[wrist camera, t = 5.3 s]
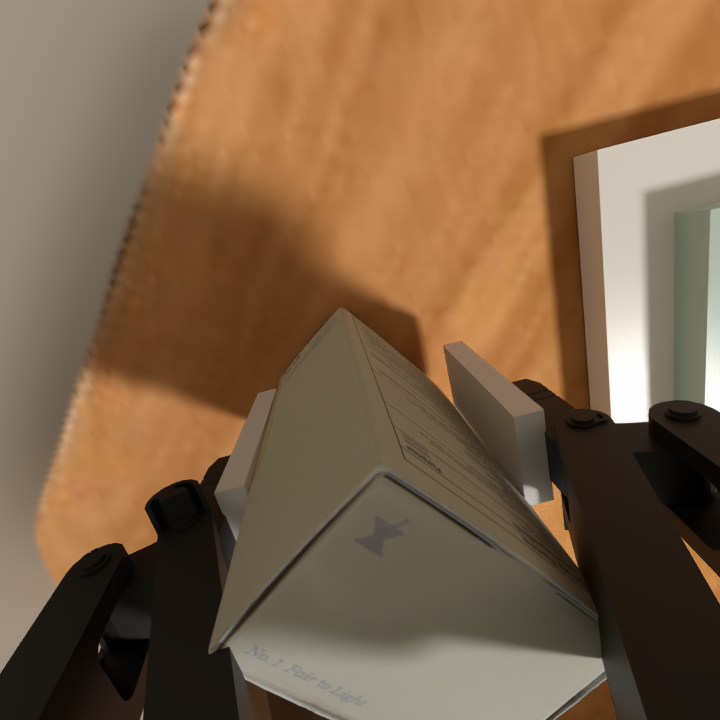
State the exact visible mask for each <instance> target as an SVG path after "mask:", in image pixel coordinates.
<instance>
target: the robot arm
mask: <svg viewBox="0 0 720 720" xmlns="http://www.w3.org/2000/svg"><path fill="white" fill-rule="evenodd" d="M443 348H444V353H445V359H446V364H447V369H448V375H449V380H450V385H451V391H452V396H453V401H454V406H455V408H456V409H457V410H458V412H459V413H460V415H461V416H462V417H463V419H464V420H465V421H466V423H467V424H468V425H469V427H470V428H471V429H472V430H473V432H474V433H475V434H476V436H477V437H478V438H479V440H480V441H481V442H482V443H483V445H484V446H485V447H486V449H487V450H488V451H489V453H490V454H491V455H492V456H493V458H494V459H495V460H496V462H497V463H498V464H499V466H500V467H501V468H502V469H503V471H504V472H505V473H506V475H507V476H508V477H509V479H510V480H511V481H512V483H513V484H514V485H515V486H516V488H517V489H518V490H519V492H520V493H521V494H522V495H523V497H524V498H525V499H526V501H527V502H528V503H529V504H530V505H534V504H538V503H542V502H546V501H550V500H554V498H553V489H552V482H553V483H554V484H555V485H556V487H557V488H558V489H559V490H560V491H561V497H562V507H563V516H564V526H565V530H569V534H570V537H571V541H572V545H573V549H574V553H575V557H576V561H577V564H578V568H579V570H580V572H581V574H582V576H583V579H584V581H585V583H586V586H587V588H588V590H589V593H590V595H591V598H592V600H593V602H594V605H595V607H596V610H597V613H598V624H599V632H600V642H601V653H602V661H603V665H604V669H605V673H606V677H607V680H608V684H609V688H610V692H611V696H612V700H613V704H614V708H615V711H616V715H617V719H618V720H720V604H719V602H718V601H717V599H716V597H715V595H714V594H713V592H712V590H711V588H710V587H709V585H708V583H707V582H706V580H705V578H704V576H703V575H702V573H701V571H700V569H699V568H698V566H697V564H696V563H695V561H694V559H693V557H692V556H691V554H690V552H689V550H688V549H687V547H686V545H685V543H684V542H683V540H682V538H683V539H684V541H685V542H686V543H687V544H688V545H689V546H690V547H691V548H692V549H693V550H694V551H695V552H696V553H697V554H698V555H699V556H700V557H701V558H702V559H703V560H704V561H705V562H706V563H707V564H708V566H709V567H710V568H711V569H712V570H713V571H714V572H715V573H716V574H717V575H718V576H719V577H720V412H719V411H717V410H715V409H714V408H712V407H709V406H707V405H704V404H701V403H696V402H691V401H688V400H682V401H681V400H673V401H665V402H661V403H658V404H654V405H653V406H652V407H651V408H649V413H648V417H649V422H634V423H614V421H613V419H612V418H611V417H610V416H609V415H608V414H605V413H603V412H600V411H597V410H592V409H575V408H574V407H572V406H571V405H570V404H568V403H567V402H565V401H564V400H563V399H561V398H560V397H559V396H556V394H554V393H553V392H552V391H550V390H548V389H547V388H546V387H545V386H543V385H542V384H541V383H539V382H535V381H532V380H528V379H523V380H519V381H515V382H510V381H509V380H508V379H507V378H505V377H504V376H503V375H502V374H501V373H499V372H498V371H497V370H496V369H495V368H493V367H492V366H491V365H490V364H489V363H487V362H486V361H485V360H484V359H483V358H481V357H480V356H479V355H478V354H477V353H475V352H474V351H473V350H472V349H471V348H469V347H468V346H467V345H466V344H465V343H463V342H462V341H459V342H455V343H451V344H447V345H443ZM276 392H277V388H275V389H271V390H268V391H264V392H260V393H258V395H257V397H256V399H255V402H254V404H253V406H252V408H251V411H250V413H249V415H248V417H247V420H246V422H245V424H244V426H243V429H242V431H241V433H240V435H239V438H238V440H237V442H236V445H235V447H234V449H233V451H232V454H231V455H229V456H225V457H222V458H218V459H217V460H216V461H215V462H214V463H213V464H212V465H211V466H210V467H209V468H208V470H207V472H206V474H205V476H204V478H203V479H204V480H202V482H201V484H199V483H198V481H196V480H192V479H190V480H182V481H179V482H176V483H173V484H171V485H169V486H167V487H165V488H163V489H162V490H160V491H159V492H158V493H156V494H155V495H154V496H153V497H152V498H151V499H150V500H149V501H148V502H147V504H146V506H145V510H146V512H147V514H148V516H149V518H150V520H151V522H152V525H153V527H154V529H155V531H156V533H157V535H158V539H157V542H155V543H153V544H152V545H149V546H147V547H145V548H143V549H141V550H139V551H136V552H134V553H132V554H130V555H128V553H127V552H126V550H125V548H124V546H123V545H122V544H119V543H113V544H108V545H105V546H102V547H100V548H96V549H94V550H92V551H91V552H90V553H87V554H86V555H84V556H83V557H82V558H81V559H80V560H79V561H78V562H76V563H75V564H74V565H73V566H72V567H71V569H70V570H69V571H68V572H67V573H66V575H65V576H64V578H63V579H62V581H61V582H60V584H59V585H58V587H57V588H56V590H55V591H54V593H53V594H52V596H51V598H50V599H49V601H48V602H47V604H46V605H45V607H44V608H43V610H42V611H41V613H40V614H39V616H38V617H37V619H36V620H35V622H34V623H33V625H32V627H31V628H30V629H29V631H28V632H27V634H26V636H25V637H24V638H23V640H22V641H21V643H20V644H19V646H18V648H17V649H16V651H15V652H14V654H13V655H12V657H11V658H10V660H9V661H8V663H7V664H6V666H5V668H4V669H3V670H2V672H1V673H0V720H140V717H141V714H142V711H143V707H144V715H143V720H330V719H328V718H325V717H323V716H320V715H318V714H315V713H314V712H313V711H310V710H308V709H306V708H305V707H301V706H299V705H297V704H295V703H293V702H291V701H289V700H286V699H284V698H282V697H280V696H278V695H276V694H273V693H271V692H270V691H267V690H264V689H263V688H261V687H259V686H257V685H255V684H253V683H251V682H249V681H247V680H245V678H244V676H243V673H242V671H241V669H240V667H239V665H238V663H237V661H236V659H235V657H234V655H233V653H232V651H231V649H230V647H227V648H223V649H218V650H217V651H215V652H213V653H212V654H209V653H208V651H209V645H210V641H211V637H212V633H213V630H214V626H215V622H216V618H217V614H218V610H219V606H220V603H221V599H222V595H223V592H224V588H225V584H226V580H227V576H228V572H229V568H230V564H231V560H232V556H233V552H234V548H235V545H236V541H237V538H238V534H239V530H240V526H241V522H242V518H243V515H244V511H245V507H246V503H247V499H248V496H249V492H250V488H251V484H252V480H253V476H254V473H255V469H256V465H257V462H258V458H259V454H260V451H261V447H262V443H263V439H264V435H265V432H266V428H267V425H268V421H269V418H270V414H271V411H272V407H273V403H274V399H275V396H276ZM680 536H681V537H682V538H681V537H680ZM99 644H100V645H101V649H100V652H99V654H98V646H99Z"/></svg>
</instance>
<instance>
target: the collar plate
mask: <svg viewBox="0 0 720 720" xmlns="http://www.w3.org/2000/svg"><path fill="white" fill-rule="evenodd" d="M573 163H574V177H575V192H576V206H577V221H578V235H579V250H580V264H581V278H582V293H583V307H584V322H585V336H586V351H587V365H588V380H589V394H590V408H591V409H592V410H597V411H600V412H603V413H605V414H608V415H609V416H610V417H611V418H612V419H613V421H614V423H634V422H649V417H648V413H649V408H651V407H652V406H653V405H654V404H658V403H661V402H665V401H673V400H681V401H682V400H688V401H691V402H696V403H701V404H704V405H707V406H709V407H712V408H714V409H715V410H717V411H719V412H720V118H719V119H715V120H711V121H708V122H704V123H700V124H696V125H692V126H688V127H684V128H680V129H677V130H673V131H669V132H665V133H661V134H657V135H653V136H649V137H646V138H642V139H638V140H634V141H630V142H626V143H622V144H618V145H615V146H611V147H607V148H603V149H599V150H595V151H592V152H589V153H586V154H582V155H579V156H576V157H573Z"/></svg>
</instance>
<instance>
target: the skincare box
mask: <svg viewBox="0 0 720 720" xmlns="http://www.w3.org/2000/svg"><path fill="white" fill-rule="evenodd" d="M227 647H230V649H231V651H232V653H233V655H234V657H235V659H236V661H237V663H238V665H239V667H240V669H241V671H242V673H243V676H244V678H245V680H247V681H249V682H251V683H253V684H255V685H257V686H259V687H261V688H263V689H264V690H267V691H270V692H271V693H273V694H276V695H278V696H280V697H282V698H284V699H286V700H289V701H291V702H293V703H295V704H297V705H299V706H301V707H305V708H306V709H308V710H310V711H313V712H314V713H315V714H318V715H320V716H323V717H325V718H328V719H330V720H555V719H556V718H557V717H559V716H560V715H562V714H563V713H564V712H566V711H567V710H568V709H570V708H571V707H572V706H574V705H575V704H576V703H578V702H579V701H580V700H581V699H582V698H583V697H585V696H586V695H587V694H588V693H589V692H591V691H592V690H593V689H595V688H596V687H597V686H598V685H599V684H601V683H602V682H603V681H605V680H606V679H607V677H606V673H605V669H604V665H603V661H602V653H601V642H600V632H599V624H598V613H597V610H596V607H595V605H594V602H593V600H592V598H591V595H590V593H589V590H588V588H587V586H586V583H585V581H584V579H583V576H582V574H581V572H580V570H579V568H578V567H577V566H576V564H575V563H574V562H573V561H572V559H571V558H570V557H569V555H568V554H567V553H566V551H565V550H564V549H563V547H562V546H561V545H560V543H559V542H558V541H557V539H556V538H555V537H554V536H553V534H552V533H551V532H550V530H549V529H548V528H547V527H546V525H545V524H544V523H543V521H542V520H541V519H540V518H539V516H538V515H537V514H536V512H535V511H534V510H533V508H532V507H531V506H530V504H529V503H528V502H527V501H526V499H525V498H524V497H523V495H522V494H521V493H520V492H519V490H518V489H517V488H516V486H515V485H514V484H513V483H512V481H511V480H510V479H509V477H508V476H507V475H506V473H505V472H504V471H503V469H502V468H501V467H500V466H499V464H498V463H497V462H496V460H495V459H494V458H493V456H492V455H491V454H490V453H489V451H488V450H487V449H486V447H485V446H484V445H483V443H482V442H481V441H480V440H479V438H478V437H477V436H476V434H475V433H474V432H473V430H472V429H471V428H470V427H469V425H468V424H467V423H466V421H465V420H464V419H463V417H462V416H461V415H460V413H459V412H458V411H457V410H456V408H455V407H454V406H453V404H452V403H451V402H450V400H449V399H448V398H447V397H446V395H445V394H444V393H443V391H442V390H441V389H440V388H439V387H438V386H437V385H436V384H435V383H434V382H433V381H431V380H430V379H429V378H428V377H427V376H426V375H425V374H424V373H422V372H421V371H420V370H419V369H418V368H417V367H415V366H414V365H413V364H412V363H411V362H410V361H408V360H407V359H406V358H405V357H404V356H403V355H401V354H400V353H399V352H398V351H397V350H395V349H394V348H393V347H392V346H391V345H389V344H388V343H387V342H386V341H385V340H383V339H382V338H381V337H380V336H379V335H377V334H376V333H375V332H374V331H372V330H371V329H370V328H369V327H368V326H366V325H365V324H364V323H363V322H361V321H360V320H359V319H357V318H356V317H355V316H354V315H352V314H351V313H350V312H349V311H347V310H346V309H345V308H343V307H340V308H338V309H337V311H336V312H335V313H334V314H333V315H332V316H331V317H330V318H329V320H328V321H327V322H326V323H325V324H324V325H323V326H322V328H321V329H320V330H319V331H318V332H317V333H316V335H315V336H314V337H313V338H312V339H311V340H310V342H309V343H308V344H307V345H306V346H305V348H304V349H303V350H302V351H301V352H300V354H299V355H298V356H297V357H296V358H295V360H294V361H293V362H292V364H291V365H290V366H289V367H288V369H287V370H286V371H285V373H284V374H283V375H282V376H281V378H280V380H279V385H278V389H277V392H276V396H275V399H274V403H273V407H272V411H271V414H270V418H269V421H268V425H267V428H266V432H265V435H264V439H263V443H262V447H261V451H260V454H259V458H258V462H257V465H256V469H255V473H254V476H253V480H252V484H251V488H250V492H249V496H248V499H247V503H246V507H245V511H244V515H243V518H242V522H241V526H240V530H239V534H238V538H237V541H236V545H235V548H234V552H233V556H232V560H231V564H230V568H229V572H228V576H227V580H226V584H225V588H224V592H223V595H222V599H221V603H220V606H219V610H218V614H217V618H216V622H215V626H214V630H213V633H212V637H211V641H210V645H209V651H208V653H209V654H212V653H213V652H215V651H217V650H218V649H223V648H227Z"/></svg>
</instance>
